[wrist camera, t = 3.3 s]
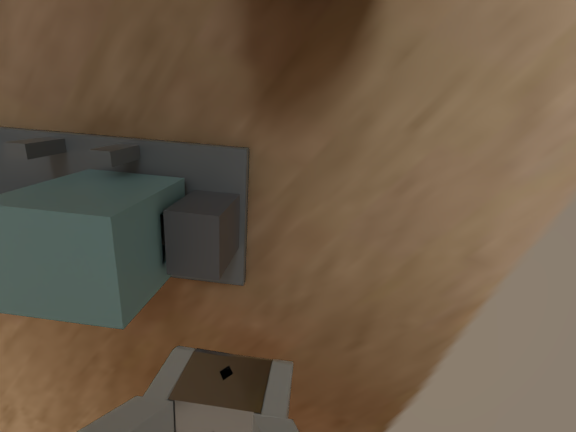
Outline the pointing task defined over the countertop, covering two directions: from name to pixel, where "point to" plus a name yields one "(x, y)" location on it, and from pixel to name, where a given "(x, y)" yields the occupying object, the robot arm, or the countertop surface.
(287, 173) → the countertop surface
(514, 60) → the countertop surface
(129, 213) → the sleeve
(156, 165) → the grey sliding rail fixture
